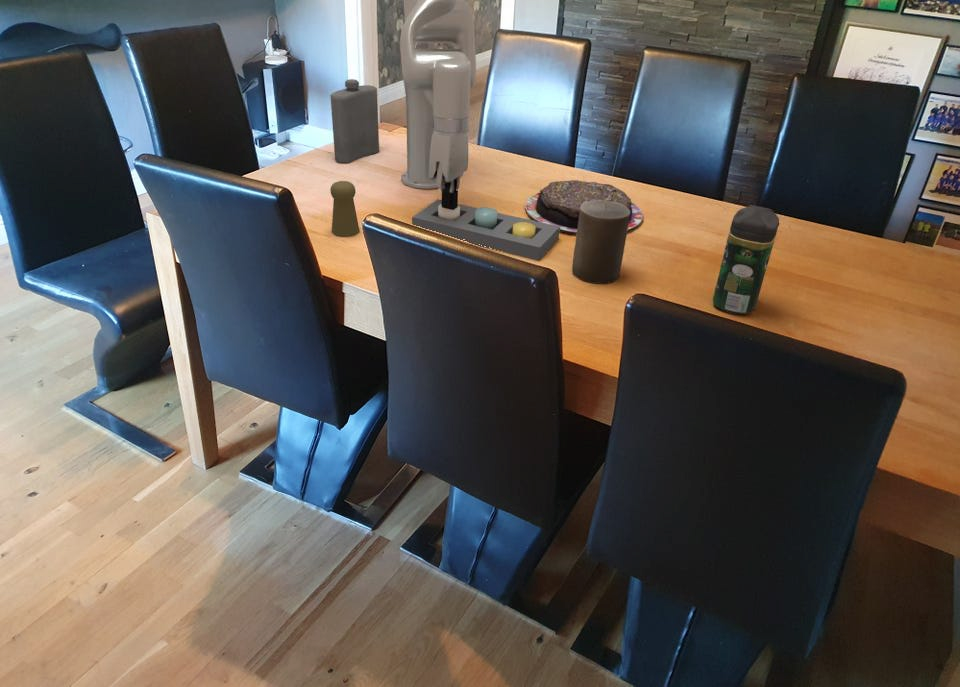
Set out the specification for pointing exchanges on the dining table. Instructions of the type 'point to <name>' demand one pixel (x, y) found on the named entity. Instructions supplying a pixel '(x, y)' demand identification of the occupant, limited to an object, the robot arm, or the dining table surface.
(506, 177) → the dining table surface
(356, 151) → the flask
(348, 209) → the cork
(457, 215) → the ivory button
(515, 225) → the mustard button
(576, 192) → the chocolate cake
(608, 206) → the pillar candle
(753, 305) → the coffee jar
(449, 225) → the console
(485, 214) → the teal button
